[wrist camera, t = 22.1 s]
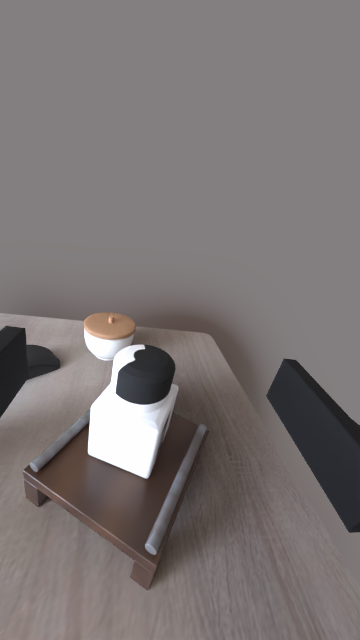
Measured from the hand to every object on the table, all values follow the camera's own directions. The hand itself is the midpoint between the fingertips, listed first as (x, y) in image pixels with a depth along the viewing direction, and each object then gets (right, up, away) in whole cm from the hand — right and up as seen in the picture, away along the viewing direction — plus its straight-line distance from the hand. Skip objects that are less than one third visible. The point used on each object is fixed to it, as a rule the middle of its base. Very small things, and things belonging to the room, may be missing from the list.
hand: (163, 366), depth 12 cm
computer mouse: (-28, -7, +32) cm, 43 cm away
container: (-5, -13, +18) cm, 23 cm away
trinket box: (-16, -5, +42) cm, 45 cm away
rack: (-6, -18, +19) cm, 27 cm away
